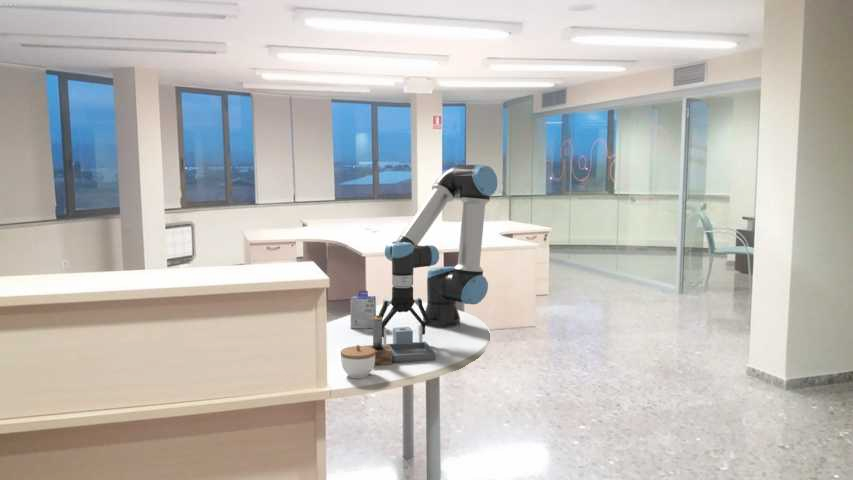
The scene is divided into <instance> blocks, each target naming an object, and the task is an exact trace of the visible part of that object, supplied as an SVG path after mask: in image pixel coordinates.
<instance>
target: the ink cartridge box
mask: <svg viewBox="0 0 853 480" xmlns="http://www.w3.org/2000/svg"><path fill="white" fill-rule="evenodd" d="M364 293H365V294H364ZM349 301H350V329H373V316H377V307H376V306H377V305H376V304H377V303H376V302H377V301H376V295H369V291H368V290H358V295H357V296H355V295H354V296H351V298H350V299H349Z"/></svg>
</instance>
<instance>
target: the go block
mask: <svg viewBox="0 0 853 480" xmlns="http://www.w3.org/2000/svg"><path fill="white" fill-rule="evenodd" d="M387 344H388V343H386V344H383V343H382V350H376V354H375V364H374V367H375V366H376V367H377V366H386V365H393V363H392V362H393V361H392V351H391V349H390V348H389V346H388V345H387ZM366 346H367V347H371V348H373V344H371V345H366Z"/></svg>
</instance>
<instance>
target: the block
mask: <svg viewBox="0 0 853 480" xmlns="http://www.w3.org/2000/svg"><path fill="white" fill-rule="evenodd" d="M413 334H414V331H413V329H412V328H411V327H410V326H399V327H397V326H396V327H392V344H397V343H412V342H414V337H413V336H414V335H413Z"/></svg>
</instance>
